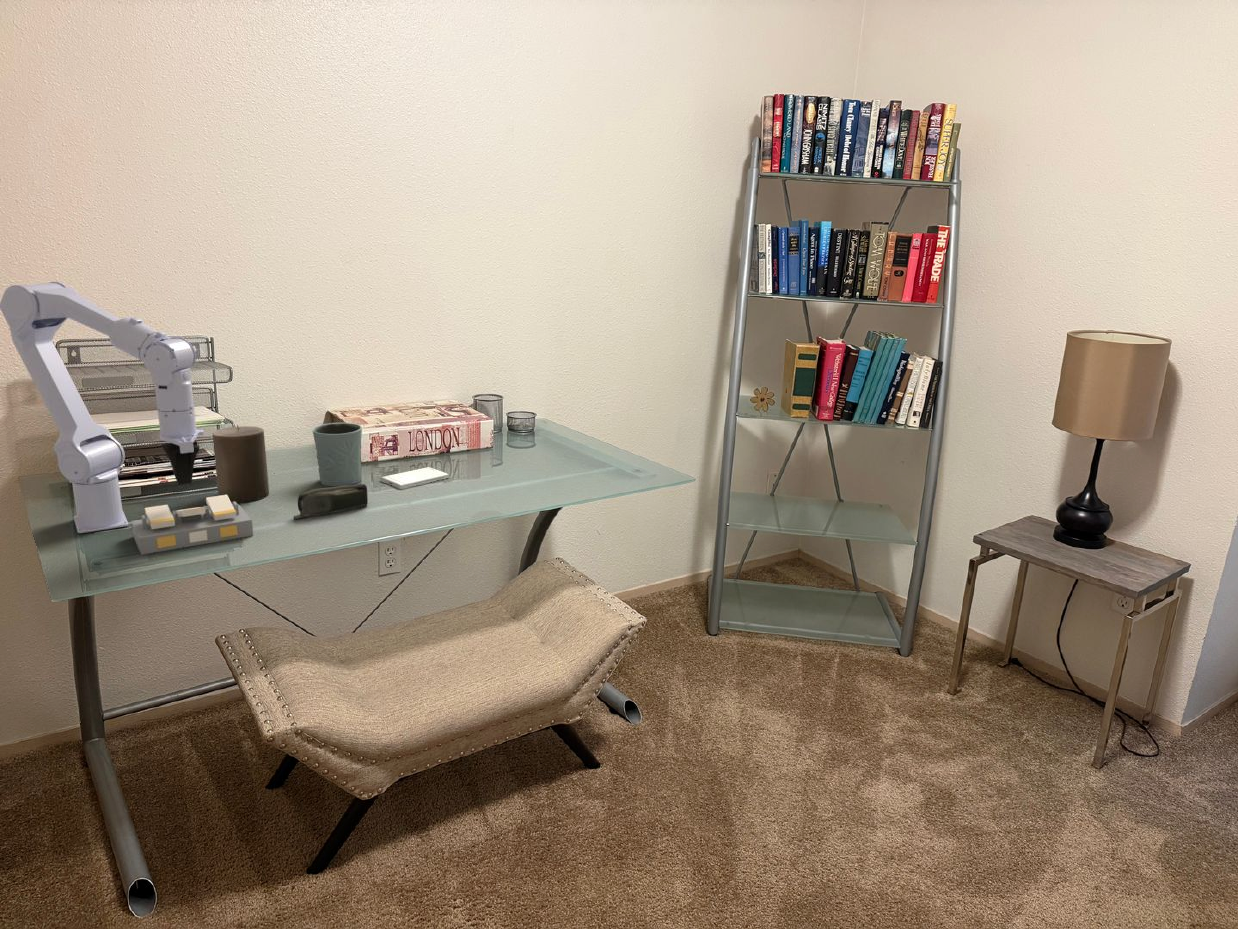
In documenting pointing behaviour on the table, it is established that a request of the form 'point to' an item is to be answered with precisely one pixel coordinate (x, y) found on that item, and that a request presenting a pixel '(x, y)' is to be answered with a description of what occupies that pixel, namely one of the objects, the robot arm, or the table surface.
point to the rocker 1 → (159, 516)
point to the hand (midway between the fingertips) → (184, 482)
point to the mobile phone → (332, 500)
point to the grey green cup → (338, 453)
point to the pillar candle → (241, 463)
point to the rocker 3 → (221, 507)
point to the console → (190, 531)
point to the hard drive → (414, 477)
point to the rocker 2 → (191, 511)
